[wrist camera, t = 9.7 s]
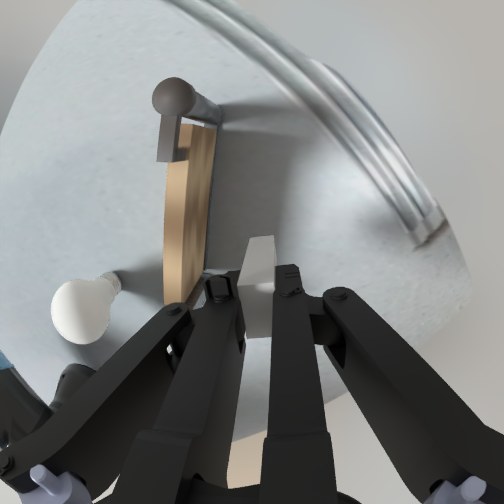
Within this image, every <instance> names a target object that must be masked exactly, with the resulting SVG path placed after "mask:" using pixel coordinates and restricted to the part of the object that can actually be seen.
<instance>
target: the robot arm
mask: <svg viewBox="0 0 504 504" xmlns="http://www.w3.org/2000/svg"><path fill="white" fill-rule="evenodd" d="M202 283H203V287H204V292H205V296H206V302H205V304H204V306H203V307H201V308H198V309H193V310H189V306H188V305H187V304H186V303H182V302H174V303H170V304H169V305H167V306H165V307H163V308H162V309H161V310H160V311H159V312H158V313H157V314H156V315H154V316H153V317H152V318H151V319H150V320H149V321H148V322H147V323H146V324H145V325H144V326H143V327H142V328H141V329H140V330H139V331H138V332H137V333H136V334H135V335H134V336H132V337H131V338H130V339H129V340H128V341H127V342H126V343H125V344H124V345H123V346H122V347H121V348H120V349H119V350H118V351H117V352H116V353H115V354H114V355H113V356H112V357H111V358H110V359H109V360H108V361H107V362H106V363H105V364H104V365H103V366H102V367H101V368H100V369H99V370H97V371H96V372H95V371H93V370H92V369H90V368H87V367H85V366H82V365H79V364H70V365H68V366H67V367H66V368H65V370H64V371H63V372H62V374H61V376H60V380H59V383H58V386H57V390H56V393H55V397H54V399H53V401H52V402H51V404H50V405H49V407H48V406H47V405H46V404H45V402H44V401H43V400H42V399H41V398H40V397H39V396H38V395H37V394H36V393H35V392H34V390H33V389H32V388H31V387H30V386H29V385H28V384H27V382H26V381H25V380H24V379H23V378H22V376H21V375H20V374H19V373H18V371H17V370H16V369H15V368H14V367H15V366H14V365H13V364H11V363H10V361H9V360H8V359H7V358H6V356H5V355H4V354H3V353H2V351H1V350H0V479H1V480H2V481H3V482H5V483H6V484H7V485H9V486H10V487H11V488H13V489H14V490H15V491H16V492H17V493H18V494H19V496H20V499H21V501H22V504H93V503H92V501H93V500H94V499H96V498H97V497H99V496H100V495H101V494H102V493H103V492H105V491H106V490H107V489H108V488H109V487H110V485H111V484H112V483H113V482H114V481H115V479H116V478H117V477H118V476H119V478H118V480H117V482H116V485H115V487H114V490H113V493H112V494H110V495H109V496H107V497H105V498H103V499H101V500H100V501H98V502H96V503H94V504H361V503H360V502H359V501H357V500H356V499H354V498H352V497H350V496H348V495H346V494H344V493H341V492H338V491H337V487H336V477H335V468H334V459H333V450H332V442H331V437H330V433H329V432H328V431H327V427H326V419H325V411H324V404H323V397H322V390H321V383H320V376H319V370H318V363H317V357H316V351H315V345H314V344H317V345H323V348H324V351H325V353H326V354H327V356H328V357H329V359H330V361H331V362H332V364H333V366H334V367H335V369H336V370H337V372H338V374H339V375H340V377H341V379H342V380H343V382H344V384H345V385H346V387H347V388H348V390H349V392H350V393H351V395H352V397H353V398H354V400H355V401H356V403H357V405H358V406H359V408H360V410H361V412H362V413H363V415H364V417H365V418H366V420H367V422H368V423H369V425H370V426H371V428H372V430H373V431H374V433H375V435H376V436H377V438H378V440H379V441H380V443H381V445H382V447H383V448H384V450H385V451H386V453H387V455H388V456H389V458H390V460H391V462H392V463H393V465H394V467H395V468H396V470H397V472H398V473H399V475H400V477H401V478H402V480H403V482H404V483H405V485H406V486H407V488H408V489H409V491H410V492H411V493H412V494H413V495H414V496H415V497H416V498H417V499H418V501H419V502H420V503H422V504H504V435H503V434H501V433H499V432H497V431H495V430H494V429H491V428H490V427H488V426H486V425H484V424H483V422H482V421H481V420H480V419H479V418H478V417H477V416H476V415H475V413H474V412H473V411H472V410H471V409H470V408H469V407H468V406H467V405H466V403H465V402H464V401H463V400H462V399H461V398H460V397H459V396H458V395H457V394H456V393H455V392H454V390H453V389H452V388H450V386H449V385H448V384H447V383H446V382H445V381H444V380H443V379H442V378H441V377H440V376H439V375H438V374H437V373H436V371H434V369H433V368H432V367H431V366H430V365H429V364H428V363H427V362H426V361H425V360H424V359H423V358H422V357H421V356H420V355H419V354H418V353H417V352H416V351H415V350H414V349H413V348H412V347H411V346H410V345H409V344H408V343H407V342H406V341H405V340H404V339H403V338H402V337H401V336H400V335H399V334H398V333H397V332H396V331H395V330H394V329H393V328H392V327H391V326H390V325H389V324H388V323H387V322H386V321H385V320H384V319H382V318H381V317H380V316H379V315H378V314H377V313H376V312H375V311H374V310H373V309H372V308H371V307H370V306H369V305H368V304H367V303H366V302H365V301H364V300H363V299H361V298H360V297H359V296H358V295H357V294H356V293H355V292H354V291H353V290H351V289H349V288H345V287H335V288H331V289H328V290H326V291H325V292H324V293H323V297H313V296H310V295H308V294H306V293H305V290H304V289H303V287H302V281H301V277H300V271H299V267H297V266H296V265H295V264H289V265H280V266H278V265H277V256H276V248H275V240H274V235H269V236H260V237H252V238H250V240H249V243H248V247H247V251H246V254H245V258H244V262H243V265H242V269H241V270H238V271H228V272H227V273H226V274H224V275H215V276H212V277H209V278H207V279H205V280H204V281H203V282H202ZM245 331H246V337H247V339H250V338H264V337H272V342H271V369H270V392H269V413H268V431H267V437H266V438H265V439H264V443H263V454H262V467H261V480H260V484H257V485H251V486H245V487H240V488H233V489H228V485H227V468H228V462H229V455H230V449H231V442H232V436H233V429H234V423H235V416H236V409H237V403H238V396H239V389H240V383H241V376H242V369H243V362H244V356H245V349H246V343H245V338H244V335H245ZM169 344H170V346H171V348H172V351H171V352H170V353H169V354H168V352H167V347H168V346H169ZM7 445H8V447H7ZM119 474H120V475H119Z"/></svg>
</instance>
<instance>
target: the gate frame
mask: <svg viewBox="0 0 504 504" xmlns="http://www.w3.org/2000/svg"><path fill="white" fill-rule="evenodd" d="M195 92H196V91H195ZM223 116H224V113H223V110H222V109H221V107H219V106H218V105H216V104H215V103H213V102H212V101H210V100H208V99H207V98H205V97H204V96H202V95H201V94H199V93H197V92H196V102H195V105H194V107H193V108H192V110H191V111H190V112H189V113H187V114H186V115H184V116H182V117H185V118H188V119H192V120H195V121H198V122H202V123H205V125H204V127H206V128H209V129H213V130H217V132H218V124H219V123H220V122H221V121H222V119H223ZM216 141H217V134H216ZM216 141H215V149H214V158H213V166H212V175H211V184H210V194H209V204H208V215H207V226H206V238H205V251H204V265H203V270H204V271H205V270H206V265H207V247H208V232H209V217H210V204H211V192H212V181H213V170H214V160H215V150H216ZM211 275H212V274H207V273H202V275H201V276H200V278H199V280H198V281H197V283H196V285H195V286H194V288H193V290H192V291H191V293H190V295H189V296H188V298H187V300H186V301H185V303H186V304H187V305H188V306H189V310H193V309H198V308H201V307H202V305H203V302H204V300H205V298H206V296H205V292H204V287H203V283H202V282H203V281H204V280H205V279H207V278H209V277H211Z"/></svg>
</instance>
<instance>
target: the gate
mask: <svg viewBox="0 0 504 504" xmlns="http://www.w3.org/2000/svg"><path fill="white" fill-rule="evenodd" d="M195 102H196V92H195V89H194V88H193V87H192V86H191V85H190V84H189V83H187V82H186V81H184V80H182V79H180V78H176V77H172V78H168V79H165V80H163V81H162V82H160V83H159V84H158V85H157V87H156V88H155V90H154V92H153V95H152V104H153V107H154V109H155V110H156V111H157V112H158V113H160V114H162V115H161V123H160V131H159V141H158V151H157V162H168V167H167V179H166V194H165V213H164V247H163V283H164V305H166V306H167V305H169V304H170V303H174V302H182V303H185V301H186V300H187V298H188V296H189V295H190V293H191V291H192V290H193V288H194V286H195V285H196V283H197V281H198V280H199V278H200V276H201V275H202V273H203V265H204V251H205V238H206V226H207V215H208V204H209V194H210V184H211V175H212V166H213V158H214V149H215V141H216V134H217V130H213V129H209V128H206V127H202V126H198V125H194V124H181V119H182V116H184V115H186V114H187V113H189V112H190V111H191V110H192V108H193V107H194V105H195Z"/></svg>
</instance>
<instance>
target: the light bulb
mask: <svg viewBox="0 0 504 504" xmlns="http://www.w3.org/2000/svg"><path fill="white" fill-rule="evenodd" d="M121 287H122V283H121V280H120V278H119V277H118V276H117V275H116V274H115V273H113V272H107V273H104V274H103V275H101V276H100V277H97V278H95V279H93V280H90V281H88V280H72V281H69V282H67V283H65V284H63V285H62V286H61V287H60V288H59V289H58V290H57V291H56V293H55V295H54V297H53V300H52V304H51V316H52V320H53V323H54V325H55V327H56V329H57V330H58V332H59V333H60V334H61V335H62V336H63V337H64V338H65V339H67V340H68V341H71V342H73V343H76V344H89V343H92V342H94V341H96V340H98V339H99V338H100V337H101V336H102V335H103V334H104V333H105V331H106V329H107V328H108V324H109V321H110V306H111V303H112V302H113V301H114V299H115V296H116V295H117V294H118V293H119V292H120V291H121Z"/></svg>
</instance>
